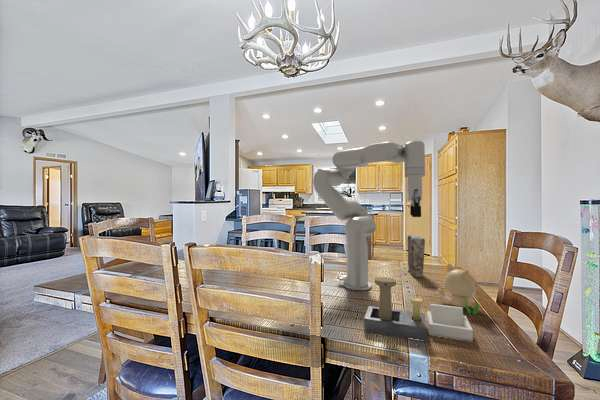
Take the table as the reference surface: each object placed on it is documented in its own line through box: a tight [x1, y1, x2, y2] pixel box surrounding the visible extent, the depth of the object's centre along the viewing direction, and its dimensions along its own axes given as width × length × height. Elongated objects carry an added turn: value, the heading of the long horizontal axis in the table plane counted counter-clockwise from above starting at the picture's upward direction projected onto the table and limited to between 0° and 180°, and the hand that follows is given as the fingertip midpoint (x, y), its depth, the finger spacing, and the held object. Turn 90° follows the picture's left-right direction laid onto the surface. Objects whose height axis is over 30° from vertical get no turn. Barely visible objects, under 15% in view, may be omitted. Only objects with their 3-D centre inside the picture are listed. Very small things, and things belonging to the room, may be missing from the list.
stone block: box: [406, 234, 426, 278], centre depth 146 cm, size 13×7×20 cm, turn 177°
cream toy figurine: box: [437, 263, 479, 315], centre depth 103 cm, size 15×10×15 cm
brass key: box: [410, 296, 423, 321], centre depth 83 cm, size 3×3×7 cm
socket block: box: [363, 305, 428, 342], centre depth 86 cm, size 17×10×4 cm, turn 69°
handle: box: [374, 276, 397, 320], centre depth 87 cm, size 5×6×15 cm
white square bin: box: [426, 303, 474, 344], centre depth 84 cm, size 11×10×6 cm
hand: (415, 216), depth 110 cm, fingers open, 9 cm apart
